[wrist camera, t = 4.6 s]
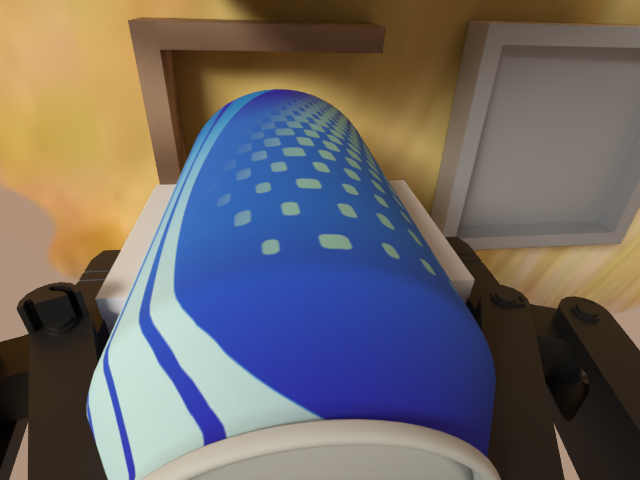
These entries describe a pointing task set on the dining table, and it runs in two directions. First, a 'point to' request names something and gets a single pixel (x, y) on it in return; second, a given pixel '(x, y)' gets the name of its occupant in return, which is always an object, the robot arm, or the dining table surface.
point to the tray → (542, 136)
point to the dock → (221, 35)
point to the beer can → (291, 320)
